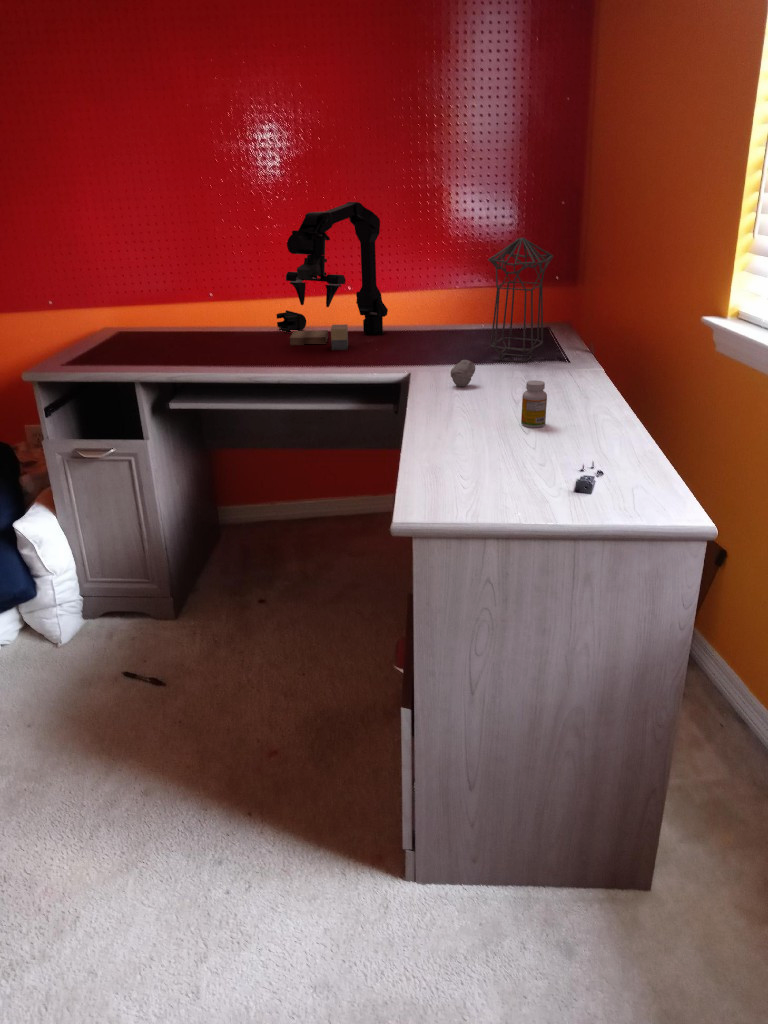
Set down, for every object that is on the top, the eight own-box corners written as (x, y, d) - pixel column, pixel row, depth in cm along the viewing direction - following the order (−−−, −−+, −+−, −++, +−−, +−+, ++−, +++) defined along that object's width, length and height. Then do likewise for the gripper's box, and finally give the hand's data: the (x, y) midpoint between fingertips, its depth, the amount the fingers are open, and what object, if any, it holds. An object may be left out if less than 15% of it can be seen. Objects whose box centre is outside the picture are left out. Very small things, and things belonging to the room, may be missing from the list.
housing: (348, 345, 261) (347, 324, 258) (347, 350, 254) (346, 328, 251) (333, 346, 261) (332, 324, 258) (331, 351, 254) (330, 329, 251)
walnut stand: (328, 337, 274) (327, 330, 273) (325, 344, 263) (325, 337, 262) (293, 338, 274) (293, 331, 273) (290, 345, 263) (289, 337, 262)
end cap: (307, 331, 285) (306, 312, 282) (289, 334, 281) (288, 315, 278) (294, 327, 292) (292, 309, 290) (277, 330, 289) (275, 311, 286)
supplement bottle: (524, 420, 181) (526, 378, 177) (547, 422, 179) (550, 380, 175) (518, 426, 176) (520, 384, 172) (542, 429, 174) (545, 386, 170)
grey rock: (479, 386, 209) (480, 360, 206) (458, 390, 206) (458, 364, 203) (466, 382, 213) (467, 356, 211) (445, 385, 210) (445, 359, 208)
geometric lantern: (548, 356, 241) (556, 235, 226) (531, 368, 228) (539, 241, 213) (499, 351, 247) (505, 233, 232) (481, 362, 235) (485, 239, 220)
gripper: (276, 253, 243) (276, 305, 248) (330, 256, 236) (328, 309, 241) (295, 253, 253) (294, 303, 258) (346, 256, 246) (345, 308, 251)
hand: (314, 306), depth 252 cm, fingers open, 9 cm apart
